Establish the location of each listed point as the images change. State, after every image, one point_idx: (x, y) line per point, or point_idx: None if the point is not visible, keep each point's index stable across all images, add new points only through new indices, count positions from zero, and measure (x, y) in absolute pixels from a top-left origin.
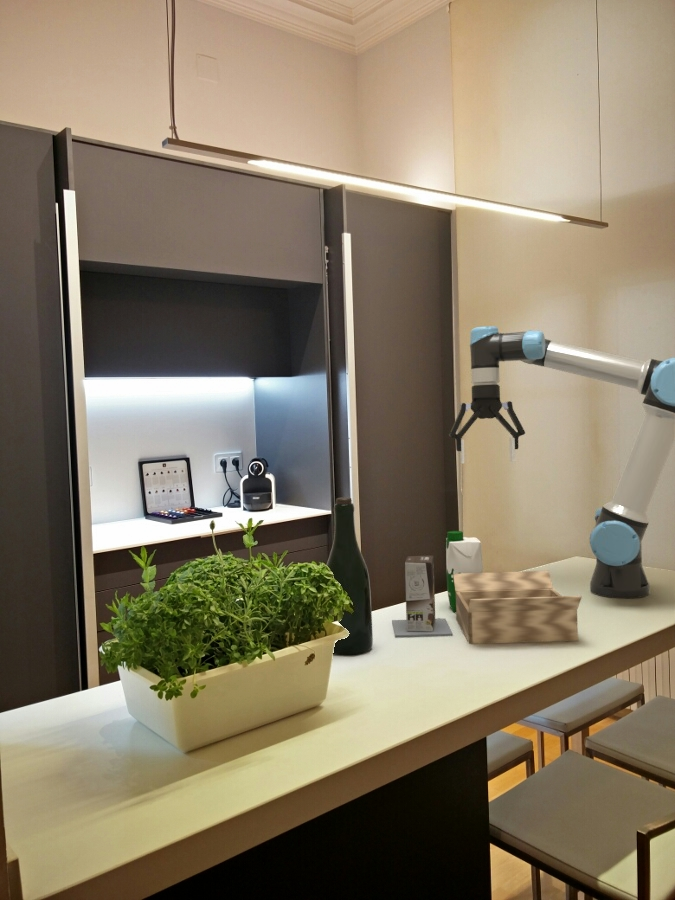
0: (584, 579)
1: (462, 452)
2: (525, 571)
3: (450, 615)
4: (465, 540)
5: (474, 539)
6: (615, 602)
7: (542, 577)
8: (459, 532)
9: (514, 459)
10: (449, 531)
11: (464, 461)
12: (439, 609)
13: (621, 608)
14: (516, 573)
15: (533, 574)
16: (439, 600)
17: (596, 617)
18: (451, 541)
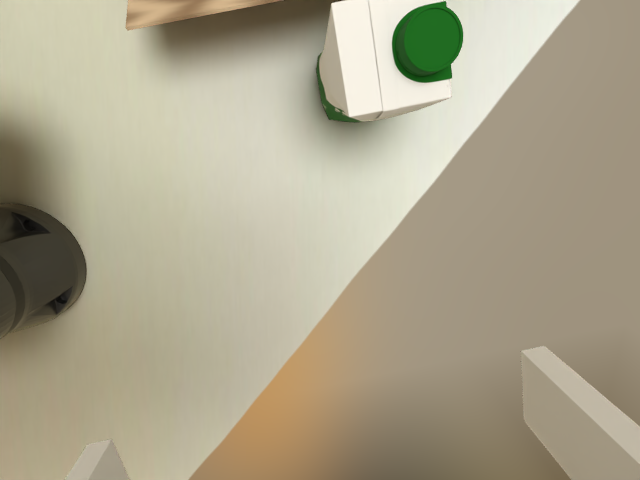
0: (105, 372)
1: (619, 417)
2: (194, 14)
3: None
4: (387, 23)
5: (354, 64)
6: (25, 168)
7: (149, 9)
8: (416, 36)
9: (81, 461)
10: (454, 56)
11: (534, 360)
12: None
13: (8, 112)
14: (221, 5)
15: (172, 11)
16: (409, 159)
17: (59, 21)
18: (437, 2)
